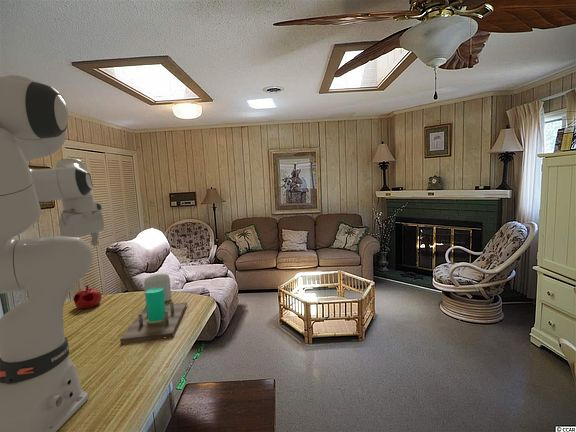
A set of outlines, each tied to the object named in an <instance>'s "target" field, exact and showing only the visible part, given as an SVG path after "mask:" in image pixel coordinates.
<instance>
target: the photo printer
mask: <svg viewBox="0 0 576 432" xmlns="http://www.w3.org/2000/svg"><path fill="white" fill-rule="evenodd" d="M143 283H144V286H143V287H144V296H145V299H146V293H145V292H146V291H147V290H149V289H152V288H163V290H164V300H165V302H169V301H171V300H172V291H171V278H170V276H169V274H168V273H155V274H152V275H149V276H147V277H145V278H144V282H143ZM146 304H147V303H146V302H145V305H146Z"/></svg>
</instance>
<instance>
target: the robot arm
mask: <svg viewBox="0 0 576 432" xmlns="http://www.w3.org/2000/svg"><path fill="white" fill-rule="evenodd" d="M68 123H69V110H68V107H67V105H66V101H65V98H64V97H63V95H62V94H61V93H60V92H59V91H58V90H56V88H54V87H53V86H50V85H48V84H45V83H41V82H39V81H38V82H37V81H34V80H32V79H31V78H28V77H25V76H22V75H14V74H13V75H11V74H10V75H4V76H0V295H1V294H6V293H11V292H17V291H18V292H19V291H28V298H27V299H26V300H25V301H23V302H21V303H19V304H17V305H16V306H14V307H13V308H11V309H10V310H8V311H7V312H6V313H4V314H3V315H2V316H1V318H0V432H58V430H59V429H61V428H62V427H63V425H64V424H65V423H66V422H67V421H68V420H69V419H70V418H71V417H73V415H74V414H75V413H76V412H77V411H78V410H79V409H80V408H81V407H82V406H83V405H84V404H85V403H86V402H87V400H88V399H89V395H88V393H87V392H86V391H84V390H83V387H82V383H81V380H80V376H79V372H78V368H77V366H76V364H74V363H73V361H72V360H71V358H70V356H69V354H70V344H69V342H68V341H69V340H68V338H67V337H66V336H65V328H64V327H65V326H64V307H65V302H66V299H67V297H68V295H69V293H70V292H71V290H72V289H73V287H74V286H75V285H76V284H77V283H78V282H79V281H81V279H82V278H83V277H85V276H86V275H87V274H88V272H89V271H90V270H91V267H92V266H93V265H92V264H93V260H94V254H93V251H92V249H91V248H92V247H90V245H89V244H88V242H87V241H86V240H84V239H83V238H81V237H83V236H87V235H90V236H91V240H90V244H91V246H96V245H99V235H100V234H99V232H100V231H104V229H105V223H104V216H103V212H102V210H103V206H102V204H101V203H98V202H97V201H95V199H94V196H93V194H92V190H93V188H94V187H93V181H92V177H91V173H89V171H88V170H87V167H86V166H85V163H84V162H83V160H80V159H78V158H64V159H63V158H62V159H60V160H57V161H56V167H53V168H43V169H42V168H40V169H39V168H38V169H34V168H33V169H32V168H30V167H29V164H28V162H29V161H32V160H36V159H40V158H45V157H48V156H51V155H53V154H54V153H56V152H58V151H59V150H60V149H61V148H62V147H63V145H64V144H65V142H66V138H67V133H66V130H67V127H68ZM59 200H61V204H62V208H63V210H62V212H61V213H60V217H59V221H58V222H59V232H60V235H54V236H43V237H35V238H34V237H33V238H25V239H23V238H22V239H19V238H17V239H16V238H14V237H15V236H19V235H20V234H23V233H25V232H26V231H28V230H29V229H31V227H33V226H35V225H36V223H37V222H38V221H39V219H40V217H41V214H42V209H41V205H40V203H45V202H53V201H59Z"/></svg>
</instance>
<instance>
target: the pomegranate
mask: <svg viewBox="0 0 576 432" xmlns="http://www.w3.org/2000/svg"><path fill="white" fill-rule="evenodd" d="M72 300H73V303H74V305H75V307H76V308H77V309H80V310H82V309H90V308H93V307H96V306H97V305H99V304H100V303H101V302H102V293H101V292H100V291H99V290H97V289H95V288H94V286H92V287H91V288H90V287H89V284H86V285H85V289H83V288H80V289H79V290H78V291H77V292H76V294H74V296H73V299H72Z"/></svg>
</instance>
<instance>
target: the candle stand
mask: <svg viewBox="0 0 576 432" xmlns="http://www.w3.org/2000/svg"><path fill="white" fill-rule="evenodd" d="M187 303H188V302H180V303H179V302H177V303H174V301H170V302H169V303H167V304H166V303H165V311H164V315H165V318H164V319H162V320H159V321H154V322H152V321H149V320H148V313H147V304H146V303H145V307H144V309H142V311H141V312H140V313H138V314H137V315H138V316H137V317H136V318H135V319H134V321H133V322H132V324H131V325H130V326H129V327H128V329H127V330H126V331H125V333H123V335H122V336H121V338H120V339H119V341H120V344H127V343H129V344H130V343H137V341H138V342H145V341H144V340H146V341H151V339H155V340H160V339H159V338H163V339H165V338H164V337H171V338H174V336H173V335H175V334H176V331H177V329H178V327H179V325H178V324H180V322H181V320H182V318H183V316H184V313H185V311H186V309H185V308H187V307H186V305H187V306H188V304H187ZM184 310H185V311H184ZM183 312H184V313H183ZM182 315H183V316H182ZM181 317H182V318H181ZM180 319H181V320H180ZM179 321H180V322H179ZM177 326H178V327H177ZM176 328H177V329H176ZM174 333H175V334H174Z"/></svg>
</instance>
